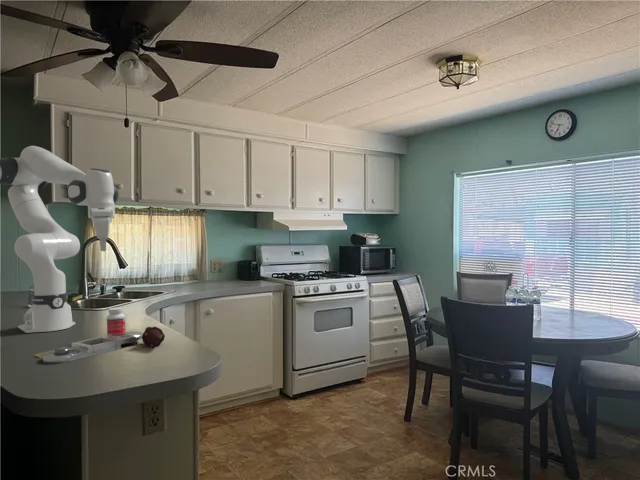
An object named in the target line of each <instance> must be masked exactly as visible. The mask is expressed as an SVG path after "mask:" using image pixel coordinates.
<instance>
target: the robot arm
mask: <svg viewBox="0 0 640 480" xmlns="http://www.w3.org/2000/svg"><path fill="white" fill-rule="evenodd" d="M113 179H114V178H113V174H112V173H111V171H109V170H107V169H102V168H94V167H93V168H88V169H87V170H86V171H84V170H82V169H80V168H78V167H76V166H74V165H72V164H71V163H68V162H67V161H65V160H64V159H62V158H61V157H59V156H57V155H56V154H55V153H53V152H51V151H49V150H47V149H45V148H44V147H40V146H36V145H30V146H26V147H25V148H23V150H22V151H21V153H20V156H18V157H12V156H9V157H3V158H0V185H3V186H4V185H5V186H10V185H12V186H10V187H9V189H8V190H7V197H8V200H9V203H10V206H11V208H12V209H11V210H12V211H13V213H14V215H15V217H16V219H17V221H18V223H19V225H20V227H21V228H22V229H23V230H24V231H26V232H28V234H24V235H20V236H19V237H18V238H17V239H16V241H15V243H14V246H13V247H14V248H13V249H14V252H15V254H16V256H17V257H18V258H19V259H20V260H22V261H23V262H24V263H25V264H26V265H27V266H28V267H29V269H30V271H31V275H32V279H33V289H34V291H33V292H34V294H33V295H32V299H31V301H32V303H31V304H32V305H31V306H30V307H29V308H28V310H27V311H26V312H25V313H24V314H23V315H22V321H23V322H24V323H23V324H19V325H18V327H17V328H18V330H19V329H20V330H21V331H23V332H24V333H27V334H28V333H43V332H44V333H45V332H54V331H55V332H56V331H61V330H65V329H66V330H67V329H69V328H71V327H72V326H74V325H76V322H75V321H73V316H72V308H71V305H70V304H69V303H68V297H69V296H68V293H67V284H66V283H67V281H66V278H67V277H66V274H65V273H64V271H62V270H60V269H58V268H57V267H56V265H55V262H54V260H65V259H68V258H73V257H75V256H76V255H78V254H79V252H80V250H81V243H80V240H79V238H78V237H77V236H76V235H75V234H73V233H70V232H68V231H67V230H65V229H64V228H63V227H62V226H61V225H59V224H58V223H57V221H55V219H54V218H53V217H52V216H51V215H50V213H49V211H48V209H47V207H46V206H45V204H44V201H43V200H42V197H40V195H39V193H38V192H39V191H38V190H39V189H41V190H42V189H44V188H46V186H47V185H48V184H59V185H68V186H67V189H66V194H67V198H68V200H69V201H70V202H71V203H72V204H73V205H77V206H85V207H86V206H87V215H88V216H87V217H88V218H89V219H91V220H92V222H91V223H93V225H94V231H95V236H96V238H97V239H99V248H100V252H106V251H107V239H109V235H110V234H109V233H110V223H112V221H113V220H112V219H115V218H116V208H115V207H116V206H115V204H116V203H117V201H119V196H120V195H119V190H118V188H117V186H116V185H115V184H114V180H113Z"/></svg>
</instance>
